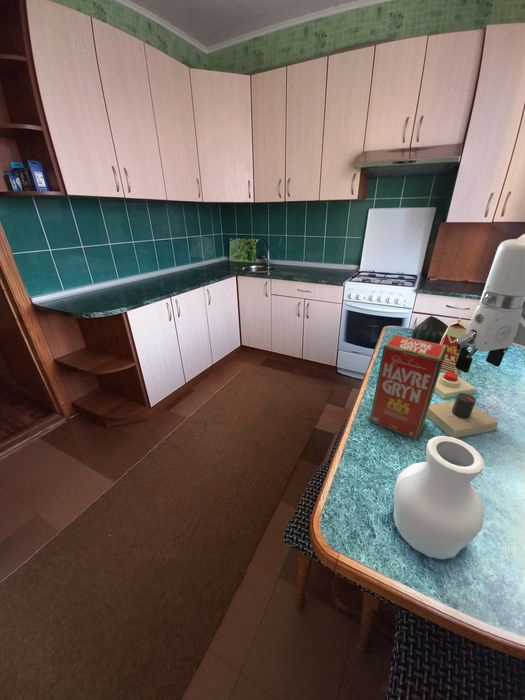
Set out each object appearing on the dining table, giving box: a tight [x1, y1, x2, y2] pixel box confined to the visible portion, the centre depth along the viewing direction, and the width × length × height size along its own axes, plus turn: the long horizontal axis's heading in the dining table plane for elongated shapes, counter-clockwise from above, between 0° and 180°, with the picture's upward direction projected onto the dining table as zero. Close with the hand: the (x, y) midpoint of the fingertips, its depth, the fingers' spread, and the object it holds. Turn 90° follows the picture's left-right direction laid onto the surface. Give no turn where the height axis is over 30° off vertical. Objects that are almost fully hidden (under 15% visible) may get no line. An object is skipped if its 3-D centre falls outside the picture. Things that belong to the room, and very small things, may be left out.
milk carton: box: [440, 317, 468, 375], centre depth 106 cm, size 9×9×20 cm
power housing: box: [434, 372, 477, 400], centre depth 97 cm, size 12×10×4 cm
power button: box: [444, 372, 459, 382], centre depth 96 cm, size 4×4×2 cm
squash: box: [411, 315, 449, 344], centre depth 121 cm, size 14×15×15 cm
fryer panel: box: [426, 400, 500, 439], centre depth 83 cm, size 14×11×3 cm
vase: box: [392, 435, 485, 560], centre depth 52 cm, size 14×14×20 cm
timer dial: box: [452, 393, 477, 418], centre depth 81 cm, size 4×4×6 cm
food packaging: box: [369, 334, 447, 441], centre depth 78 cm, size 13×9×25 cm
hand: (476, 366), depth 71 cm, fingers open, 9 cm apart
